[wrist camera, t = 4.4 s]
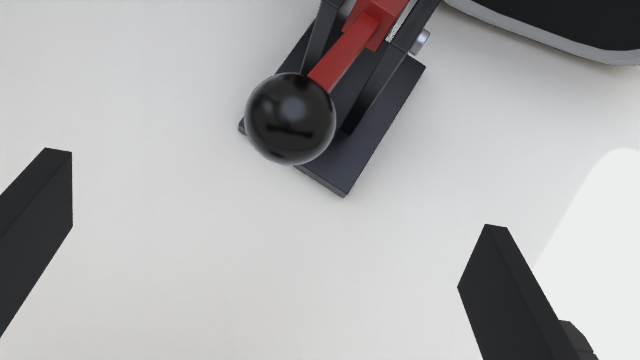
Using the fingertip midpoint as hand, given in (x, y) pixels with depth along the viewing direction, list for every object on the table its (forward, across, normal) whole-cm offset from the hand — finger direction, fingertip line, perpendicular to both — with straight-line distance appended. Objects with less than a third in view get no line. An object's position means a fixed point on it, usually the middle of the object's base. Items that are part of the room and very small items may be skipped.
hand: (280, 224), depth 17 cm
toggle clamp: (+24, +4, -4) cm, 24 cm away
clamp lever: (+11, +2, +1) cm, 11 cm away
